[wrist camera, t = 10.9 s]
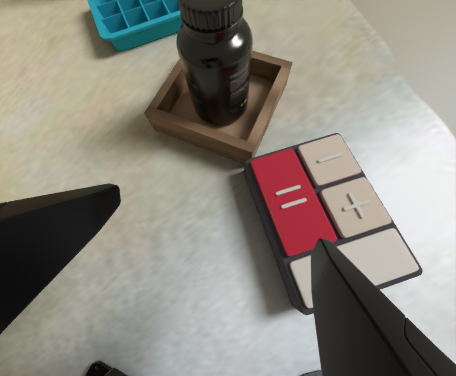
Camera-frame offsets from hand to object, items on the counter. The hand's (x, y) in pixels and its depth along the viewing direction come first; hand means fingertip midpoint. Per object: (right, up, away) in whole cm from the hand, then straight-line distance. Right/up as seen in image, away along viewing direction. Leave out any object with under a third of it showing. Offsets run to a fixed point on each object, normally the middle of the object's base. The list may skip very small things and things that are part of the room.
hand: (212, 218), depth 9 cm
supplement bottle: (0, +12, +18) cm, 21 cm away
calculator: (+10, -2, +14) cm, 17 cm away
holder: (0, +12, +18) cm, 22 cm away
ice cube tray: (-9, +29, +25) cm, 40 cm away
